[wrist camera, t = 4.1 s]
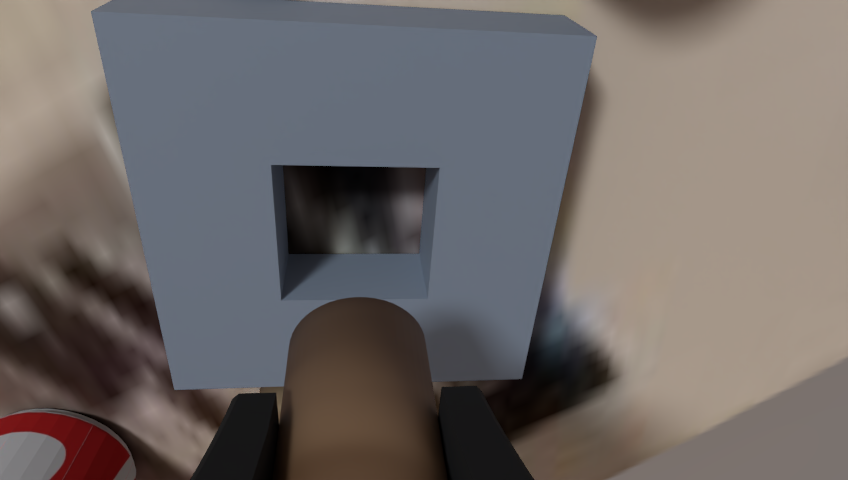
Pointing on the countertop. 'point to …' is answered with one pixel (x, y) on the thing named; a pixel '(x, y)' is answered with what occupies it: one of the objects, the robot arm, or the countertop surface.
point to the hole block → (341, 146)
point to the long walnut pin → (358, 397)
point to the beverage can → (61, 448)
